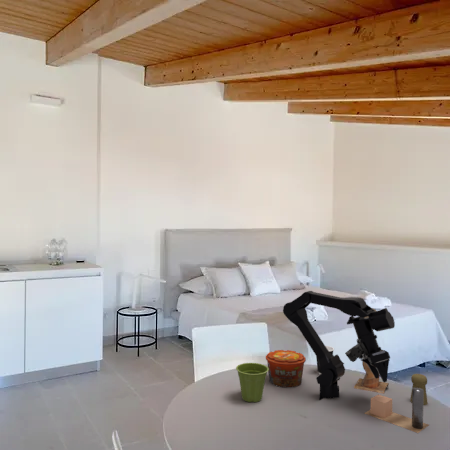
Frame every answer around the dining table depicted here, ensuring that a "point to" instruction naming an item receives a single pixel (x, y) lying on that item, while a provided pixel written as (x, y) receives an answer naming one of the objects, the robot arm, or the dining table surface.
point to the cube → (381, 406)
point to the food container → (285, 368)
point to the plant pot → (252, 380)
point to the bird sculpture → (370, 380)
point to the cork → (419, 385)
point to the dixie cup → (318, 360)
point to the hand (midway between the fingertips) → (381, 380)
